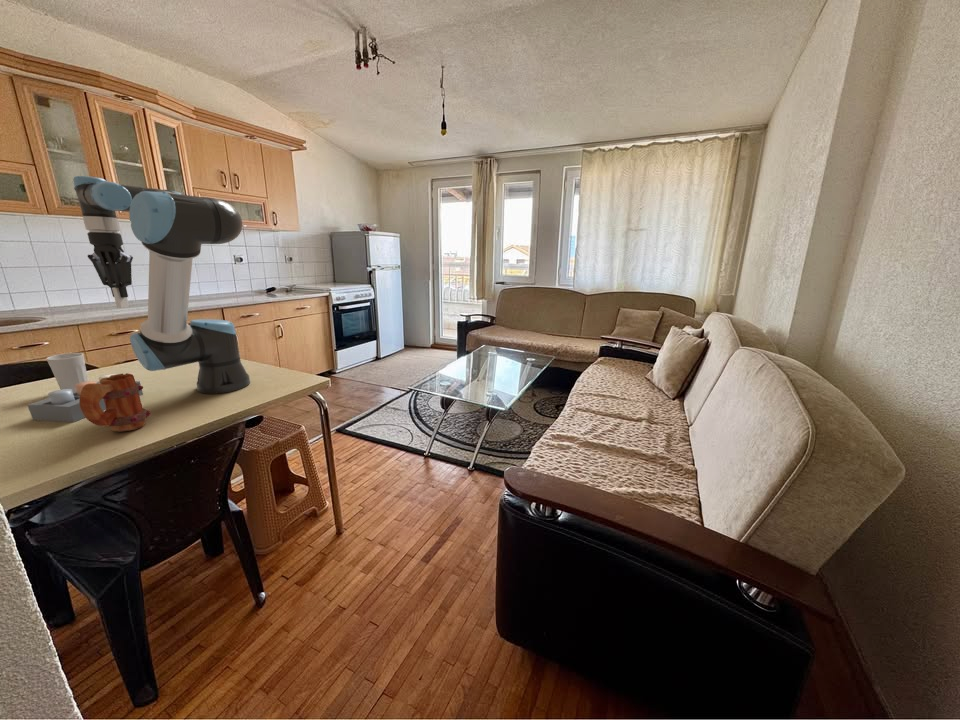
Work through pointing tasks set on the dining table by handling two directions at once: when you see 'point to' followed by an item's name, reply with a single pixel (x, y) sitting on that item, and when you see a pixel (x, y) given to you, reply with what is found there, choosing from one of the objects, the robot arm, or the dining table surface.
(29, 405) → the grey tray
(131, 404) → the mug
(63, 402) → the button slate
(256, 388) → the dining table surface
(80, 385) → the button terracotta
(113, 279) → the robot arm
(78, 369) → the cup
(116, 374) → the button ivory
